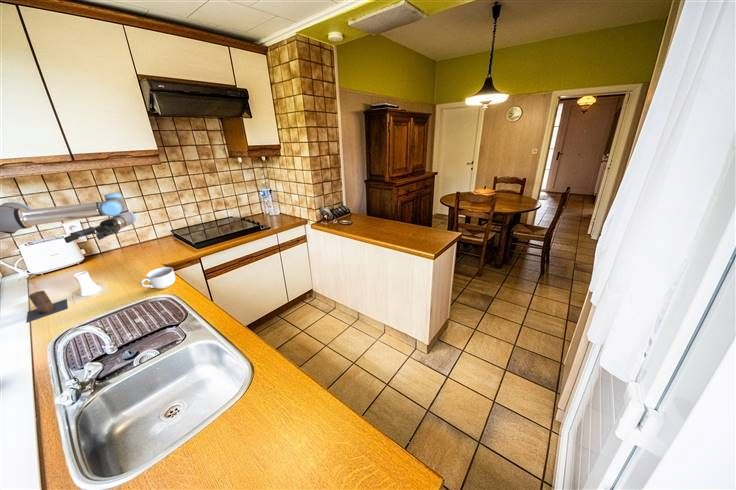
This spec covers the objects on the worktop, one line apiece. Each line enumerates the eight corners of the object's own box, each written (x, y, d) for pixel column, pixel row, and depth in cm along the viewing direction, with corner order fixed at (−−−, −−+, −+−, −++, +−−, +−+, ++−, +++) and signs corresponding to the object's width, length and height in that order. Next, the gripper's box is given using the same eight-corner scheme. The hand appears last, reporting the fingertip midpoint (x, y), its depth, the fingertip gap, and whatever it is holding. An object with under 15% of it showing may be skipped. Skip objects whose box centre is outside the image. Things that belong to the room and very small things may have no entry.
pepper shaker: (40, 311, 115) (28, 294, 112) (55, 306, 118) (44, 289, 115) (39, 315, 112) (27, 298, 109) (55, 310, 116) (44, 293, 112)
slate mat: (28, 313, 116) (27, 311, 116) (67, 300, 124) (66, 298, 124) (27, 324, 109) (26, 322, 108) (68, 310, 117) (67, 308, 116)
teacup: (174, 277, 139) (168, 264, 136) (181, 284, 133) (175, 270, 129) (141, 290, 129) (135, 275, 126) (147, 297, 123) (141, 282, 120)
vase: (84, 297, 124) (73, 279, 120) (76, 294, 127) (66, 276, 123) (104, 289, 130) (94, 271, 126) (96, 286, 133) (87, 269, 129)
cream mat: (72, 293, 130) (71, 291, 130) (105, 282, 138) (104, 281, 138) (74, 305, 120) (73, 303, 120) (109, 293, 128) (108, 291, 128)
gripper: (139, 228, 150) (114, 242, 131) (90, 233, 147) (56, 249, 127) (134, 216, 147) (107, 228, 128) (83, 220, 144) (48, 234, 124)
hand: (82, 238), depth 128 cm, fingers open, 13 cm apart
